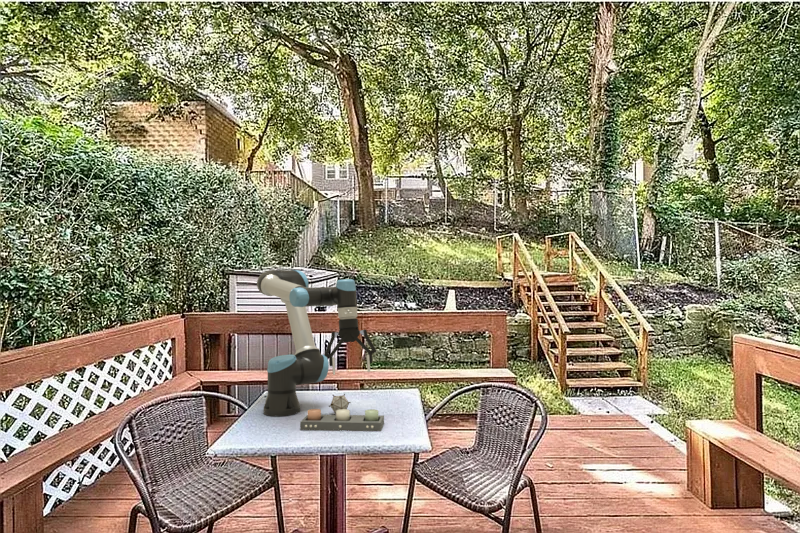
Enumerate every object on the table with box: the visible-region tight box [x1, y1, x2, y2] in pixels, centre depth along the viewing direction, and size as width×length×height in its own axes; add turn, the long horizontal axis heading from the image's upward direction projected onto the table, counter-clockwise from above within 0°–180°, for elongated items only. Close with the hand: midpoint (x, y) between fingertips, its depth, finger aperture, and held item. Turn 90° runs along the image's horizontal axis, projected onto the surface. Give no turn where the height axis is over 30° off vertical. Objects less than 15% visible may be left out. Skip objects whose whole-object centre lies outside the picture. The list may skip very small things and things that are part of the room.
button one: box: [335, 408, 351, 421], centre depth 209 cm, size 5×5×4 cm
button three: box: [307, 408, 322, 420], centre depth 210 cm, size 5×5×4 cm
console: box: [299, 414, 385, 432], centre depth 209 cm, size 30×12×3 cm, turn 85°
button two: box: [364, 408, 379, 421], centre depth 208 cm, size 5×5×4 cm
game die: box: [328, 393, 352, 415], centre depth 229 cm, size 9×8×10 cm
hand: (351, 373), depth 216 cm, fingers open, 13 cm apart
